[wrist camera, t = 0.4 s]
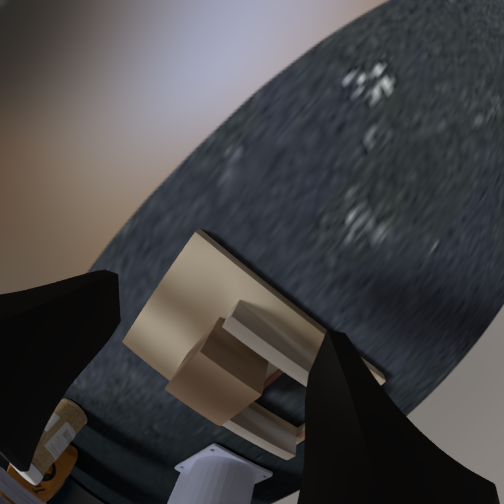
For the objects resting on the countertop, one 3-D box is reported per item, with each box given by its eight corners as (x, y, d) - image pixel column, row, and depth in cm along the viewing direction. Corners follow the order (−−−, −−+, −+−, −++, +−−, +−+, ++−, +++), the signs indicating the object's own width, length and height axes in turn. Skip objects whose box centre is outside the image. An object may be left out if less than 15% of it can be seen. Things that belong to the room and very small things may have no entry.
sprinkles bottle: (62, 391, 28) (1, 452, 15) (89, 411, 28) (32, 480, 15) (63, 409, 29) (10, 466, 16) (88, 427, 29) (38, 491, 16)
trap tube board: (285, 444, 24) (282, 471, 20) (127, 336, 23) (106, 357, 20) (383, 373, 20) (392, 401, 17) (200, 229, 20) (180, 239, 16)
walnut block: (233, 386, 21) (219, 426, 17) (187, 353, 21) (164, 389, 17) (269, 354, 20) (261, 394, 16) (219, 316, 20) (199, 351, 16)
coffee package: (89, 457, 32) (28, 542, 11) (73, 466, 36) (23, 535, 15) (44, 415, 32) (-28, 493, 10) (35, 432, 35) (-22, 495, 14)
